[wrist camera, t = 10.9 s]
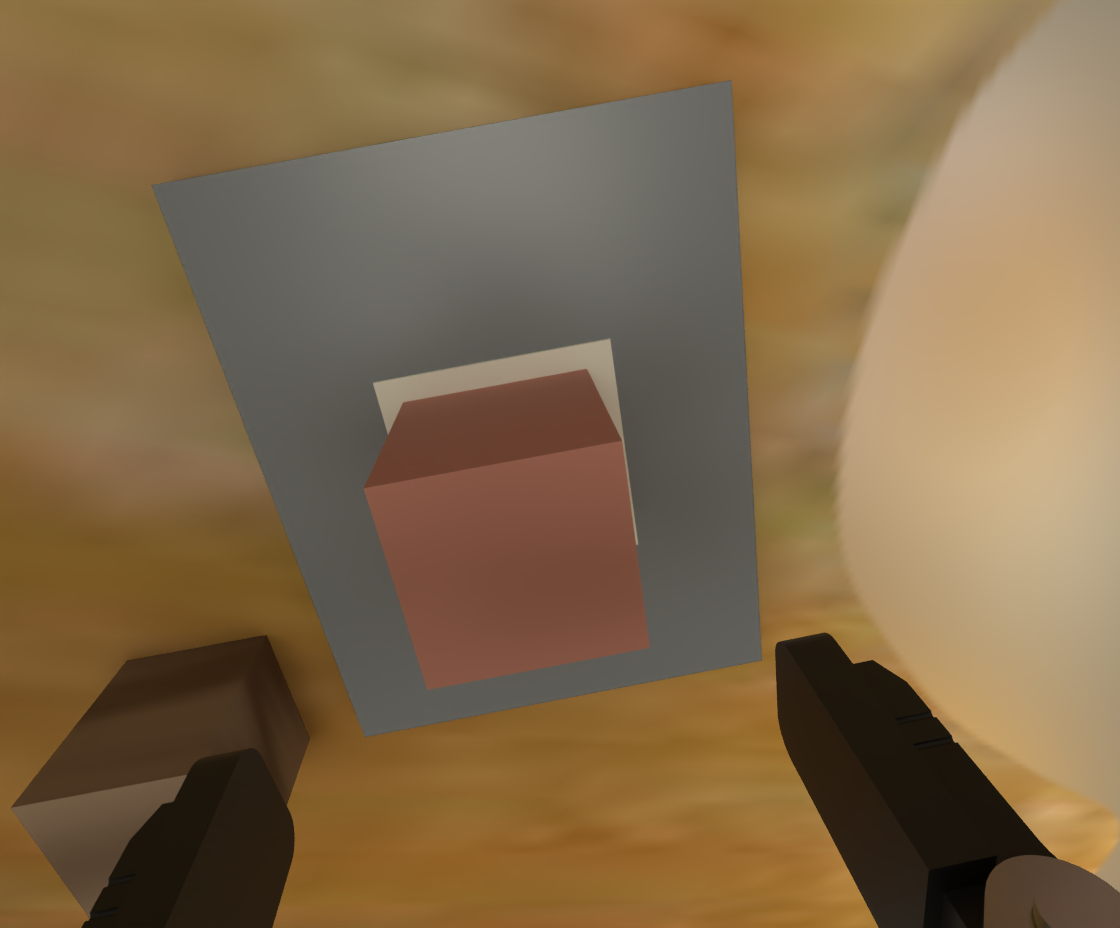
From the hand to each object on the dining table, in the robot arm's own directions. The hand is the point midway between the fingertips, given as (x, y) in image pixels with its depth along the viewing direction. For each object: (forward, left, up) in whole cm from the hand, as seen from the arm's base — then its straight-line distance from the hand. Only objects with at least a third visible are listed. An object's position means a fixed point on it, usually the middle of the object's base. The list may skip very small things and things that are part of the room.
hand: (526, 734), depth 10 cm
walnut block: (+8, -12, -12) cm, 19 cm away
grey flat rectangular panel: (0, 0, -12) cm, 12 cm away
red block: (0, 0, -11) cm, 11 cm away
